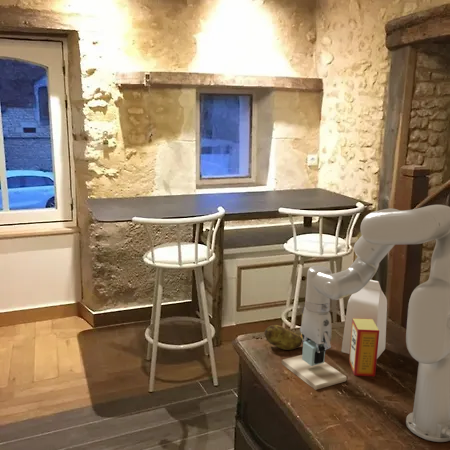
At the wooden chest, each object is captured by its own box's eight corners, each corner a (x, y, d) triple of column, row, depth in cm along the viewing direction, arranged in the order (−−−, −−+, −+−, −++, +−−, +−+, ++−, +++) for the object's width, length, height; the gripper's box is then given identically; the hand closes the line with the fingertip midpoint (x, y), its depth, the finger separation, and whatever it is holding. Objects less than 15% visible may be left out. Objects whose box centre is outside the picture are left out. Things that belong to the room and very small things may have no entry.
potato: (298, 355, 177) (299, 334, 175) (261, 349, 181) (262, 328, 179) (302, 345, 184) (303, 324, 183) (267, 339, 188) (268, 319, 187)
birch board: (346, 381, 161) (346, 376, 160) (315, 389, 155) (315, 385, 155) (310, 356, 176) (311, 352, 176) (281, 363, 171) (281, 359, 170)
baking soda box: (348, 361, 174) (352, 316, 170) (368, 362, 173) (372, 317, 170) (354, 375, 164) (358, 328, 161) (375, 376, 164) (379, 329, 161)
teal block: (324, 362, 164) (325, 345, 163) (311, 366, 162) (312, 348, 160) (314, 356, 168) (315, 339, 167) (302, 359, 166) (303, 342, 165)
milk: (341, 351, 181) (346, 281, 175) (352, 340, 190) (358, 272, 184) (375, 361, 174) (381, 288, 168) (385, 348, 184) (392, 279, 178)
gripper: (344, 313, 155) (339, 368, 159) (310, 294, 170) (306, 345, 174) (324, 317, 152) (320, 373, 156) (291, 298, 166) (288, 349, 170)
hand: (313, 358), depth 165 cm, fingers closed on teal block, 4 cm apart
